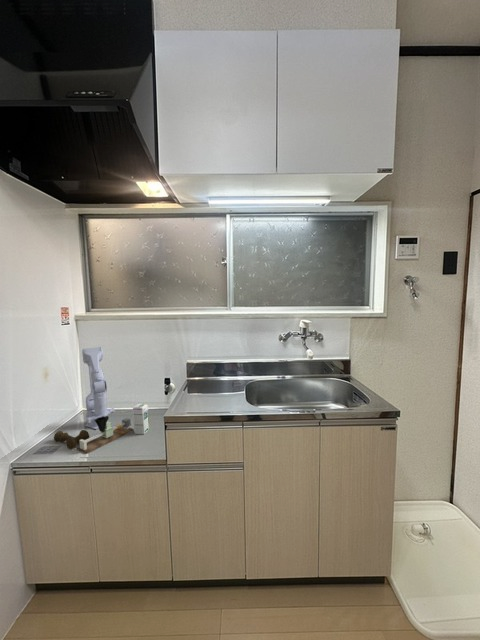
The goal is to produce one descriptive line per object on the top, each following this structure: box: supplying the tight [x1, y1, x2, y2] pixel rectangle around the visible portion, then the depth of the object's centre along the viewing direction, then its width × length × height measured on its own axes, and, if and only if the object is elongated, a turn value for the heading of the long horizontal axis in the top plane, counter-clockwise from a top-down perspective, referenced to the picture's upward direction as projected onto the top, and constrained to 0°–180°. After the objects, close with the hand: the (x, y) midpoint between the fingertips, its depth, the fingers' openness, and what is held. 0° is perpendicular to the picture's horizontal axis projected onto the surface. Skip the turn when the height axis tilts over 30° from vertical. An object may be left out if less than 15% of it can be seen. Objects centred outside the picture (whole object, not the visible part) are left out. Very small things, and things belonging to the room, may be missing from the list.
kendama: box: [53, 429, 90, 450], centre depth 156 cm, size 6×10×20 cm
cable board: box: [75, 426, 134, 454], centre depth 159 cm, size 27×8×1 cm, turn 149°
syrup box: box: [132, 403, 150, 435], centre depth 167 cm, size 6×6×14 cm
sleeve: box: [102, 420, 114, 438], centre depth 160 cm, size 4×4×7 cm
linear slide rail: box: [79, 417, 132, 450], centre depth 160 cm, size 27×4×5 cm, turn 149°
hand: (102, 431), depth 157 cm, fingers closed
